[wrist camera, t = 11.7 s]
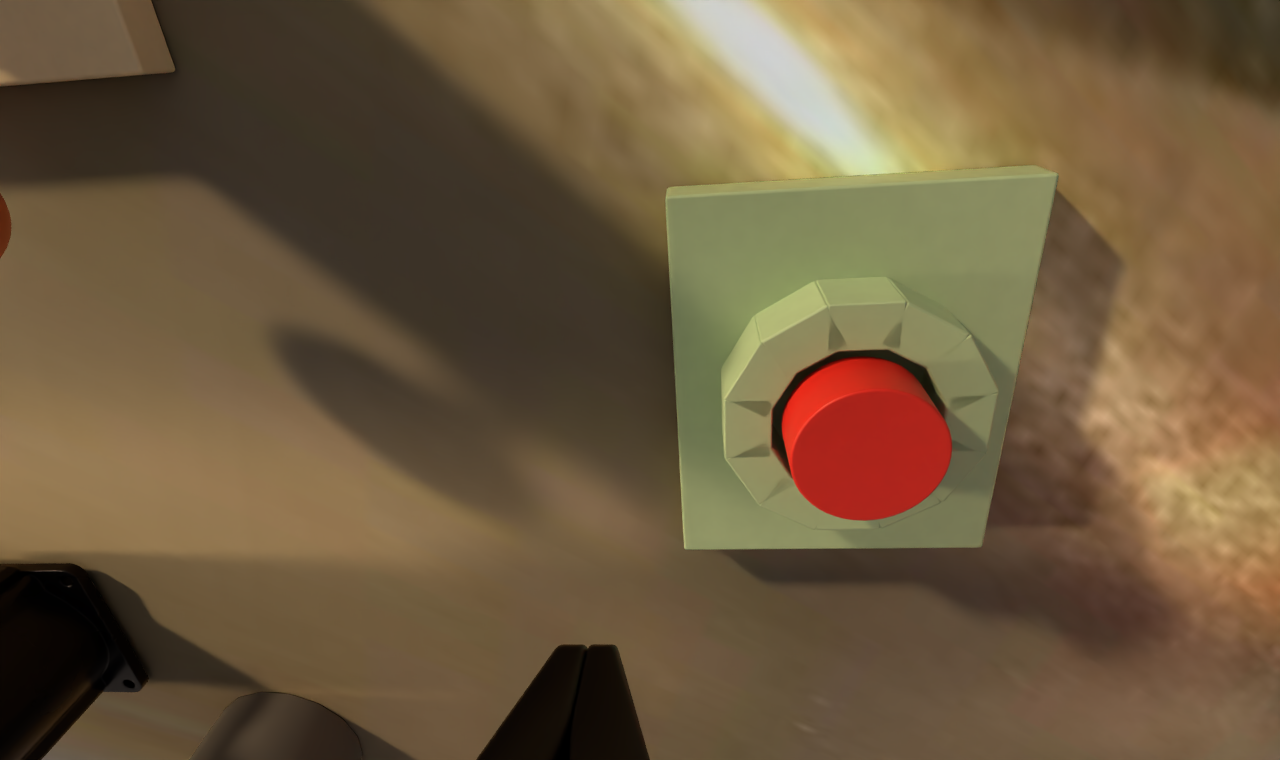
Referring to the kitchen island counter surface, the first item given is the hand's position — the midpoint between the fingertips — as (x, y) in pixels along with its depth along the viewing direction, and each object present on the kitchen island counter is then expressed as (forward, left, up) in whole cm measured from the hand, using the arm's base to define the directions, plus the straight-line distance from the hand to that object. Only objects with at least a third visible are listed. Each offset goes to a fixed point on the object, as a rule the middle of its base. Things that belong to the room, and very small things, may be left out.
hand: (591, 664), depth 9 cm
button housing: (-1, -5, -11) cm, 12 cm away
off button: (-1, -5, -8) cm, 10 cm away
